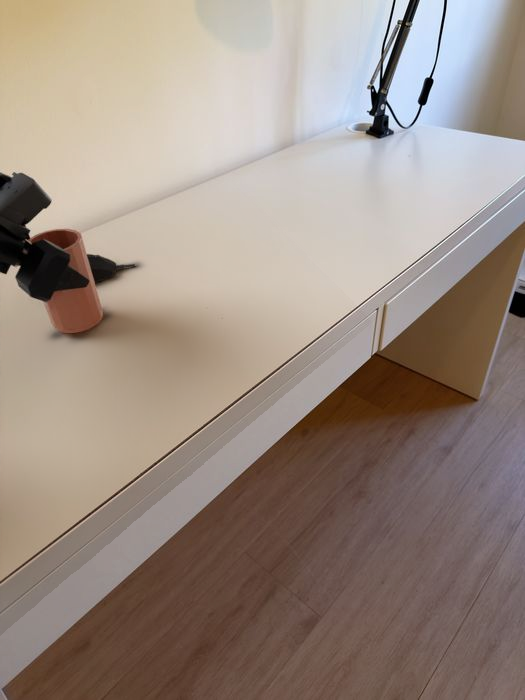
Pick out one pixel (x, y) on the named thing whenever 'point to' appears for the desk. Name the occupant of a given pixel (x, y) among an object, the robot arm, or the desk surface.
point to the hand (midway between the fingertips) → (74, 273)
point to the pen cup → (74, 304)
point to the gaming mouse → (103, 267)
